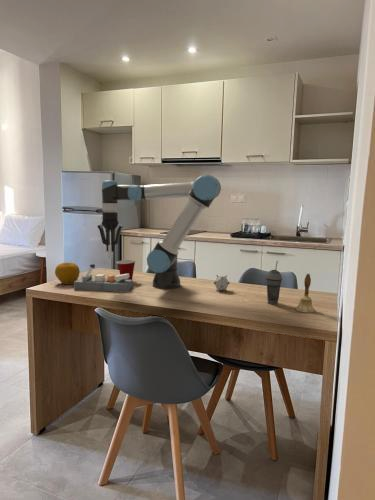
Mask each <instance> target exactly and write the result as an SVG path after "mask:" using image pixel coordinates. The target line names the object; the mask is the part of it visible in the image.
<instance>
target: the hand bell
mask: <svg viewBox="0 0 375 500" xmlns="http://www.w3.org/2000/svg"><path fill="white" fill-rule="evenodd" d="M303 283H304V285H303V286H304V294H303V296H301V297H300V300H299V302H298V305H297V306H296V307H295V311H297V312H299V313H300V312H301V313H305V314H312V313H315V312H316V309H315V308H314V306H313V302H312V298H311V297H310V296H309V291H310V286H311V283H312V280H311V274H310V273H306V275H305V277H304V282H303Z"/></svg>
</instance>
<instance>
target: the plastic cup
mask: <svg viewBox="0 0 375 500" xmlns="http://www.w3.org/2000/svg"><path fill="white" fill-rule="evenodd" d="M116 264H117V266H118V271H119V275H122V274H127V273H129V276H130V277H129V278H128V279H125V280H133V276H134V270H135V264H136V259H123V260H118V261H116Z"/></svg>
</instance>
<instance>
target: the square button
mask: <svg viewBox="0 0 375 500" xmlns="http://www.w3.org/2000/svg"><path fill="white" fill-rule="evenodd" d="M94 278H95V282H104V281H105V279H106V275H105V274H104V273H103V274H101V273H98V274H96V275H94Z"/></svg>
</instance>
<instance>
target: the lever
mask: <svg viewBox="0 0 375 500" xmlns="http://www.w3.org/2000/svg"><path fill="white" fill-rule="evenodd" d="M95 268H96V265H95V264H94V263H91V264H89V268H88V271H87V273H86V275H85V277H87V280H88V279H90V276H91V274H92V273H93V271H94V269H95Z"/></svg>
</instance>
